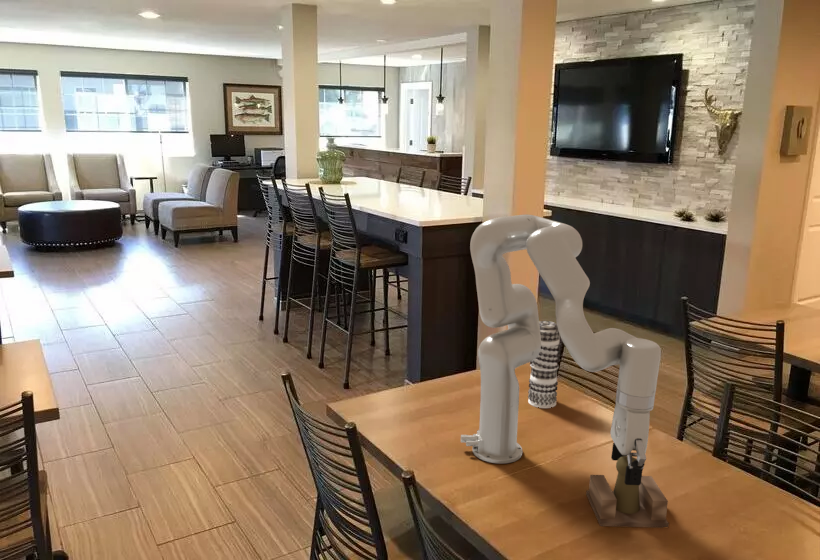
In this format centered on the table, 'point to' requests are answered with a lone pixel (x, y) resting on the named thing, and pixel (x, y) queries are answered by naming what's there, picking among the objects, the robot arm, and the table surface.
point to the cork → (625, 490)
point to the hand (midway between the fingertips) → (625, 471)
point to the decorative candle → (545, 368)
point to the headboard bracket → (607, 515)
